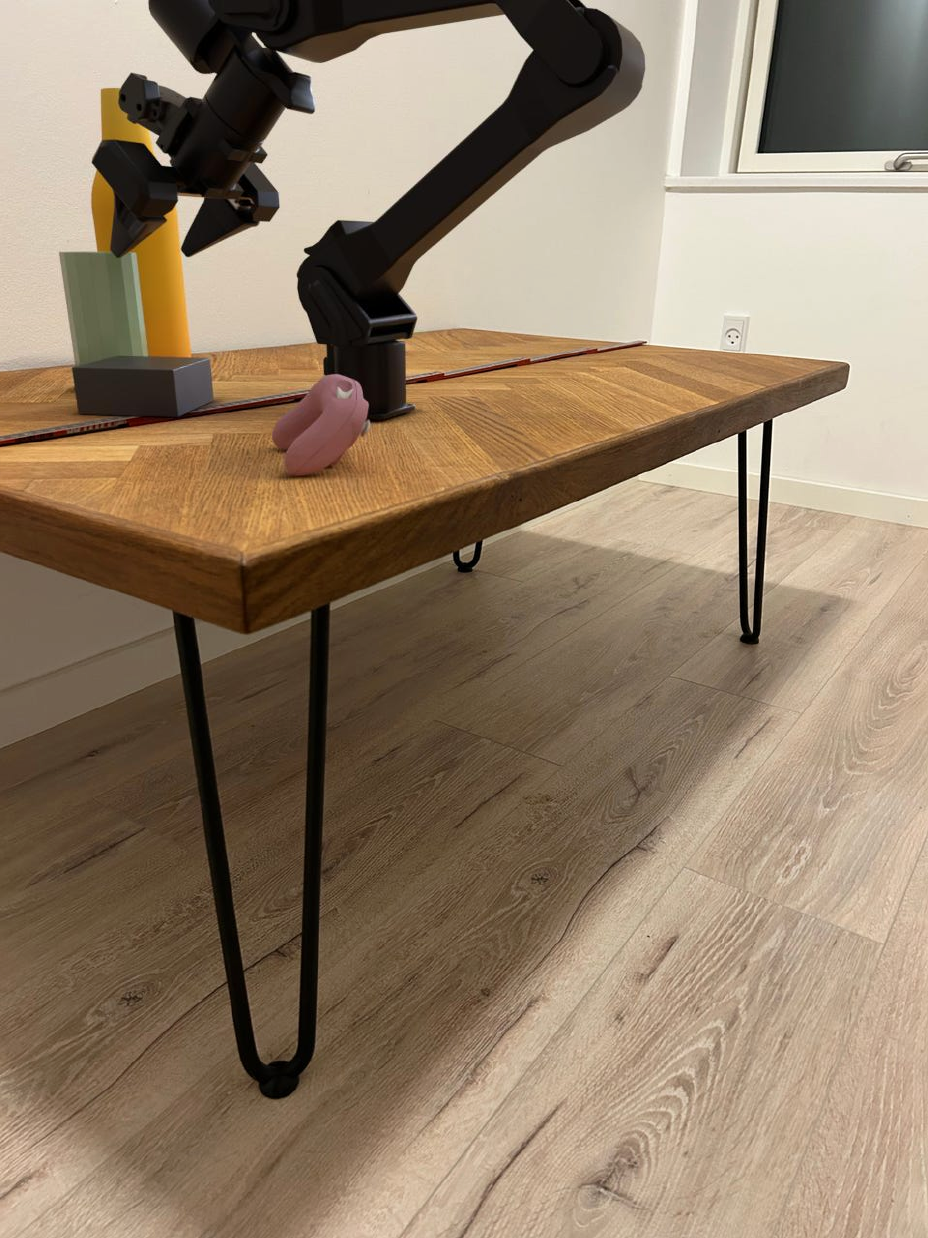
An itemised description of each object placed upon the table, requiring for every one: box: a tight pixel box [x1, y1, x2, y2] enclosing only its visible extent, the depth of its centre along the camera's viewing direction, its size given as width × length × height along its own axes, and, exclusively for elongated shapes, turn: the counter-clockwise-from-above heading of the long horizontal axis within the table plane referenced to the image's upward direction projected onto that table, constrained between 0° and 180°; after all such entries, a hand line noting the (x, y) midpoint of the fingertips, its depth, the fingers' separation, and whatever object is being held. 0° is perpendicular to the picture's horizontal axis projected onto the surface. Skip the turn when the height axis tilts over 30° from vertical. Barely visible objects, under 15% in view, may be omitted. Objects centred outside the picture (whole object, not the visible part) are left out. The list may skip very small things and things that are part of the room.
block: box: [71, 356, 215, 418], centre depth 83 cm, size 9×9×4 cm
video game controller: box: [271, 374, 371, 477], centre depth 63 cm, size 10×5×7 cm, turn 17°
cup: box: [58, 250, 148, 367], centre depth 91 cm, size 7×7×13 cm
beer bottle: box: [90, 87, 192, 357], centre depth 104 cm, size 9×9×29 cm
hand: (151, 253), depth 86 cm, fingers open, 9 cm apart
